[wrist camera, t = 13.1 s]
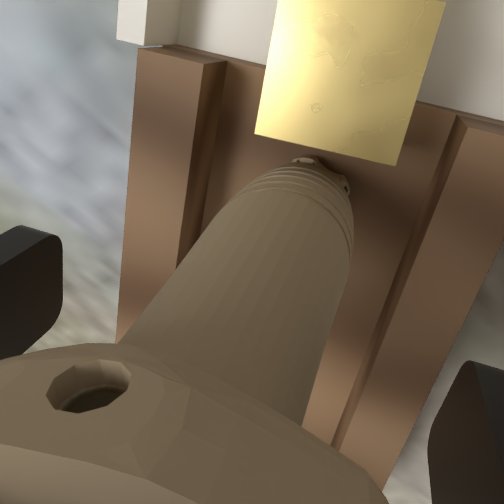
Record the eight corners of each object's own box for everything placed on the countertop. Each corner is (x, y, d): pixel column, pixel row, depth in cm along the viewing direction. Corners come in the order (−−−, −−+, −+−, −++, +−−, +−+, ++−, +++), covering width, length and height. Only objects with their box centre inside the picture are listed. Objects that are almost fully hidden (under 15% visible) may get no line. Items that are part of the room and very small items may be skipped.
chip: (305, -5, 15) (283, -26, 12) (429, 17, 15) (446, 2, 11) (280, 119, 17) (254, 133, 13) (391, 144, 16) (395, 166, 13)
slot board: (183, 44, 19) (129, 46, 15) (519, 122, 17) (559, 149, 13) (145, 369, 27) (103, 427, 23) (374, 448, 25) (372, 527, 21)
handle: (390, 260, 18) (390, 848, 5) (230, 246, 20) (-92, 668, 7) (403, 131, 16) (461, 542, 3) (224, 128, 18) (-251, 390, 5)
